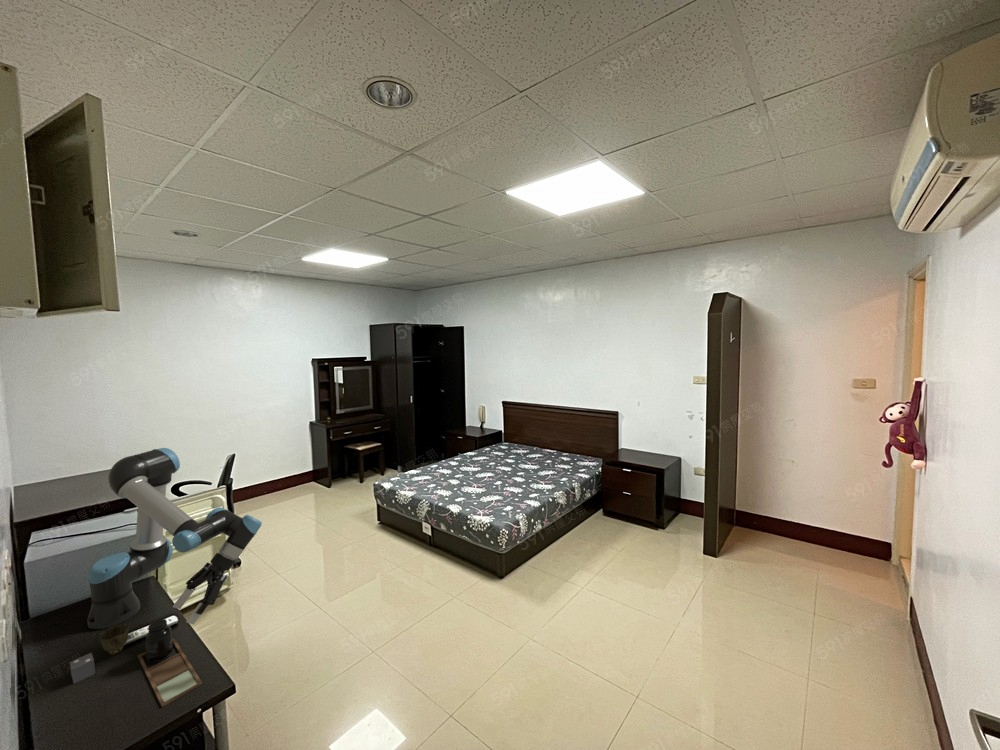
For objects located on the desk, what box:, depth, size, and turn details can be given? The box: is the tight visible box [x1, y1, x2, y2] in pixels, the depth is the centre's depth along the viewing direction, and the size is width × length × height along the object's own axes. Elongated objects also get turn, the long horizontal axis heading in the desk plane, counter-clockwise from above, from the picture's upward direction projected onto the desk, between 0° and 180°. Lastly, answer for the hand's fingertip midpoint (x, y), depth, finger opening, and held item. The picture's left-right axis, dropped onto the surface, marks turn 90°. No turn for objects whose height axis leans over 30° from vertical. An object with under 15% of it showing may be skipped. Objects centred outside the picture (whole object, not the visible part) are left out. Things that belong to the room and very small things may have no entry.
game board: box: [137, 638, 203, 708], centre depth 135 cm, size 31×10×1 cm, turn 52°
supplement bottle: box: [145, 618, 174, 664], centre depth 140 cm, size 7×7×12 cm
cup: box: [99, 623, 130, 655], centre depth 142 cm, size 8×7×8 cm
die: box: [69, 652, 96, 684], centre depth 133 cm, size 5×5×5 cm
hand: (182, 615), depth 144 cm, fingers open, 13 cm apart
